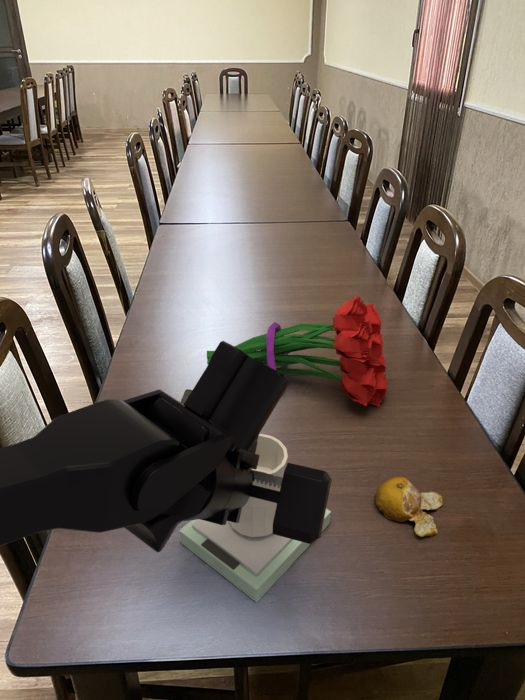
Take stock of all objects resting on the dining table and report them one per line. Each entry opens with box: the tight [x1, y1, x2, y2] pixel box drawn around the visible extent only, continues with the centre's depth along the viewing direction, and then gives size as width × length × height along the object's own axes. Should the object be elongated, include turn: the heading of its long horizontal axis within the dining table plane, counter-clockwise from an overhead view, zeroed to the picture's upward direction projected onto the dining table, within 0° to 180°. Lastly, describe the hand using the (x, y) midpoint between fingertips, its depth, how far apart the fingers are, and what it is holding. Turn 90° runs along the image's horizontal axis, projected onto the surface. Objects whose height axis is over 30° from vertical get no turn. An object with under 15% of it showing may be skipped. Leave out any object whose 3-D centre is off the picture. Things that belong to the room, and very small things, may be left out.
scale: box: [179, 508, 332, 603], centre depth 65 cm, size 14×12×3 cm
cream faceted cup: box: [229, 433, 289, 537], centre depth 61 cm, size 7×7×10 cm
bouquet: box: [206, 294, 388, 407], centre depth 88 cm, size 20×16×30 cm
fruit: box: [373, 476, 444, 538], centre depth 68 cm, size 8×8×4 cm
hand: (246, 485), depth 57 cm, fingers open, 9 cm apart
